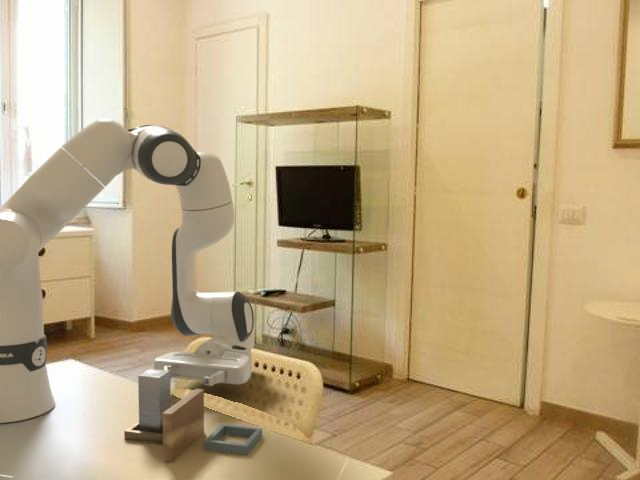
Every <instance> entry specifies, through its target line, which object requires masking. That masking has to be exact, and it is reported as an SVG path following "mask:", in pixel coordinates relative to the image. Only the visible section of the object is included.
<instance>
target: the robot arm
mask: <svg viewBox="0 0 640 480" xmlns="http://www.w3.org/2000/svg"><path fill="white" fill-rule="evenodd" d="M128 170H135V171H137V172H138V173H139V174H140V175H141V176H142V177H144V178H146V179H147V180H150V181H152V182H153V183H154V182H155V183H157V184H161V185H167V186H175V188H176V189H177V193H178V194H179V201H180V207H181V222H180V226H179V227H178V228H176V229H175V230H174V232H173V236H172V240H171V241H172V242H171V275H172V276H171V278H172V279H171V280H172V281H171V282H172V285H171V286H172V298H171V299H172V300H171V306H170V307H171V309H170V310H171V311H170V319H171V322H172V324H173V326H174V328H175V329H176V330H177V331H178V332H179V333H180V334H182V336H186V337H188V336H199V335H212V337H211V338H210V339H207V340H206V341H204V342H203V343H201V344H199V345H198V346H197V347H196V348H195V350H194V352H185V351H184V352H183V351H170V352H166V353H164V354H162V355H159V356H157V357H155V358H154V359H153V365H152V369H156V370H166V371H170V381H171V380H172V379H180V380H191V381H201V382H203V384H204V386H208V387H213V386H214V385H215V384H216V385H217V384H230V385H239V386H240V385H243V384H246V383H247V382H248V381H249V379H251V378H252V370H253V369H252V368H253V357H252V353H251V349H253V350H254V347H255V337H254V334H253V331H254V323H255V320H254V319H255V316H254V309H253V306H252V304H251V302H250V301H249V299H248V298H247V296H246V295H245V294H243V293H242V292H241V291H217V292H216V291H214V292H213V291H211V292H210V291H209V292H204V291H199V290H198V289H196V286H195V257H196V255H197V253H198V252H200V251H202V250H204V249H206V248H209V247H210V246H212V245H215V244H217V243H219V241H222V240H223V239H224V238H225V237H226V236H227V235H228V234H229V233H230V232H231V230H232V228H233V226H234V223H235V210H234V203H233V197H232V191H231V188H230V183H229V179H228V176H227V173H226V170H225V167H224V164H223V163H222V160H221V159H220V158H219V157H218V156H217V155H215V154H213V153H210V152H206V151H205V152H204V151H203V152H202V151H200V152H199V151H198V152H197V151H196V150H195V149H194V147H192V145H191V144H190V142H189V141H188V140H187V139H186V138H185V137H184V136H183V135H182V134H180V133H178V132H176V131H174V130H173V129H171V128H170V127H166V126H163V125H155V124H145V125H142V126H137V127H133V128H129V129H127V128H126V127H124V126H123V125H122V124H121V123H119V122H117V121H115V120H113V119H110V118H106V117H105V118H99V119H96V120H94V121H93V122H91V123H90V124H88V125H87V126H86V127H83V128H82V129H81V130H80V131H78V132H77V133H76V134H74V135H73V136H71V138H69V139H68V140H66V142H65V143H63V144H62V145H61V147H60V148H59V149H57V150H56V151H55V152H54V153H53V154H52V155H51V156H50V157H49V158H48V159H47V160H46V161H45V162H44V163H43V164H41V165H40V166H39V167H38V169H36V170H35V171H34V172H33V173H32V174H31V175H30V176H29V177H28V178H27V179H26V181H25V182H24V183H23V184H22V185H21V186H20V187H19V188H18V189H17V190H16V191H15V193H13V194H12V195H11V196H10V197H9V199H7V200H6V202H5V203H3V204H2V205H1V207H0V424H4V423H13V422H14V423H15V422H19V421H24V420H28V419H33V418H34V417H38V416H41V415H43V414H45V413H48V412H49V411H50V410H52V409H53V408H54V407H55V405H56V401H55V398H54V395H53V392H52V389H51V383H50V379H49V374H48V368H47V355H48V345H47V344H48V342H47V341H48V340H47V335H46V334H45V332H44V331H45V328H44V299H43V298H44V297H43V290H42V283H41V280H42V279H41V273H40V258H39V257H40V256H39V253H40V252H41V251H42V250H43V248H45V246H47V245H48V244H49V242H50V241H52V240H54V238H55V237H56V236H57V235H58V234H60V232H61V231H62V230H63V229H64V228H65V227H66V226H67V225H68V224H69V223H70V222H71V221H73V220H74V219H75V217H76V216H78V215H79V213H81V212H82V211H83V210H84V209H85V208H86V207H87V206H88V205H89V204H90V203H91V202H92V201H93V200H94V199H95V198H96V197H97V196H98V195H99V194H100V193H102V191H103V190H105V188H106V187H107V186H108V185H109V184H110V183H111V182H112V181H113V179H115V177H117V176H119V175H120V174H121V173H124V172H125V171H128Z"/></svg>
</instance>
